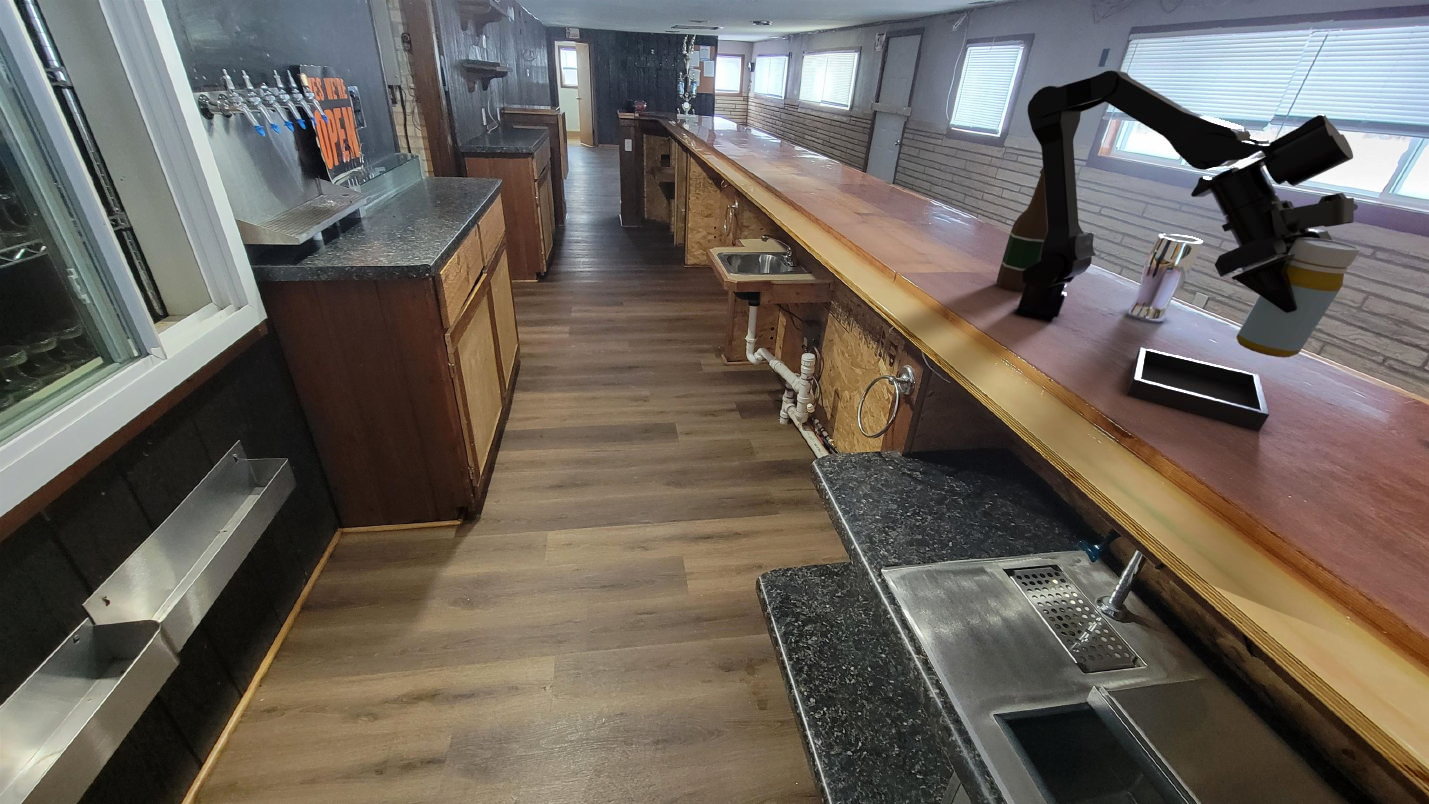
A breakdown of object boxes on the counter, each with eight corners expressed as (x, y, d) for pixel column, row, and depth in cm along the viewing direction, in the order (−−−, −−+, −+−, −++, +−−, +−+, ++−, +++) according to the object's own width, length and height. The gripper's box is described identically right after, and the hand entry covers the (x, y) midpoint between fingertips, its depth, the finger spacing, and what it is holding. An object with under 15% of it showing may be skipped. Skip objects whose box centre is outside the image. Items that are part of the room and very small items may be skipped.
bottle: (1272, 340, 83) (1334, 238, 76) (1309, 361, 77) (1381, 253, 70) (1222, 336, 84) (1279, 234, 76) (1256, 356, 78) (1321, 248, 70)
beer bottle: (1036, 285, 123) (1075, 168, 111) (1032, 295, 117) (1073, 172, 105) (998, 278, 127) (1032, 164, 115) (992, 287, 121) (1027, 167, 109)
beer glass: (1153, 311, 111) (1188, 234, 104) (1175, 324, 105) (1213, 244, 98) (1117, 309, 112) (1149, 232, 104) (1136, 321, 106) (1171, 241, 98)
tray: (1126, 395, 79) (1133, 379, 78) (1133, 361, 90) (1140, 347, 89) (1259, 431, 72) (1269, 414, 71) (1250, 390, 82) (1259, 375, 81)
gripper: (1295, 172, 68) (1359, 289, 65) (1355, 168, 76) (1414, 272, 73) (1191, 223, 78) (1243, 327, 75) (1254, 215, 86) (1303, 308, 83)
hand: (1303, 308), depth 76 cm, fingers closed on bottle, 6 cm apart
